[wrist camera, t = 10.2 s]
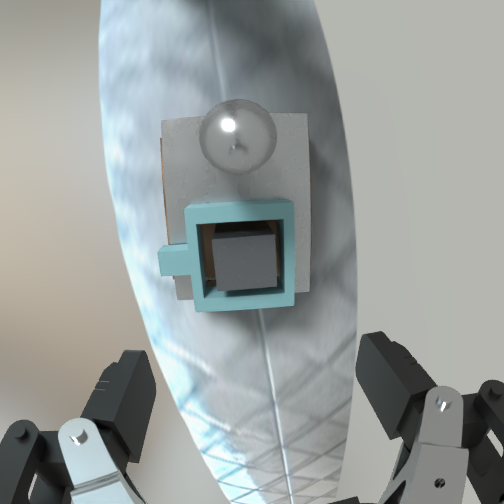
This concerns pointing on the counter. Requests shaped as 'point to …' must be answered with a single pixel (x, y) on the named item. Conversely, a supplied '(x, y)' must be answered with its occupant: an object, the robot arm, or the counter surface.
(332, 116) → the counter surface
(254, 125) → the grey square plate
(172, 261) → the bracket head
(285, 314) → the counter surface
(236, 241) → the brushed steel block
